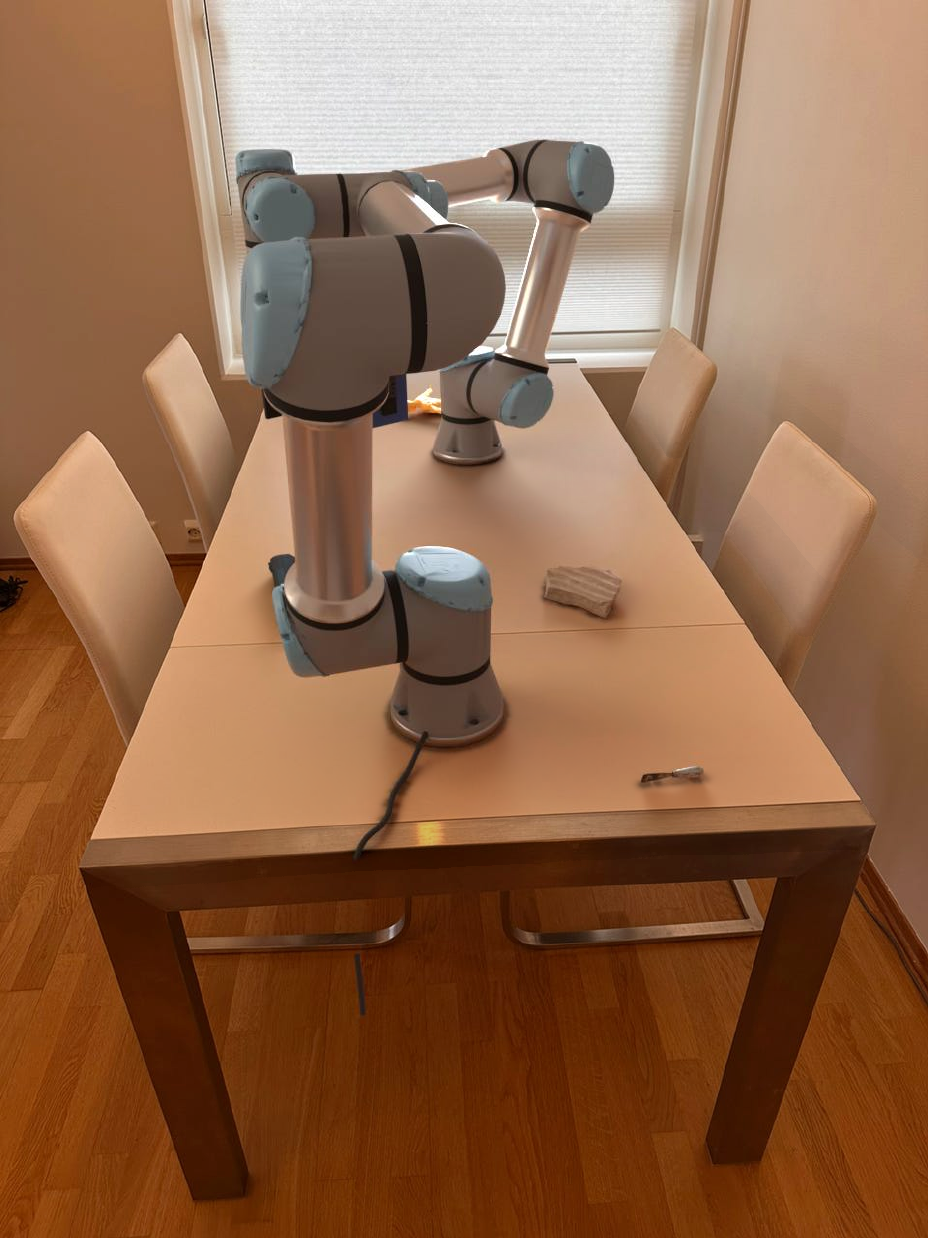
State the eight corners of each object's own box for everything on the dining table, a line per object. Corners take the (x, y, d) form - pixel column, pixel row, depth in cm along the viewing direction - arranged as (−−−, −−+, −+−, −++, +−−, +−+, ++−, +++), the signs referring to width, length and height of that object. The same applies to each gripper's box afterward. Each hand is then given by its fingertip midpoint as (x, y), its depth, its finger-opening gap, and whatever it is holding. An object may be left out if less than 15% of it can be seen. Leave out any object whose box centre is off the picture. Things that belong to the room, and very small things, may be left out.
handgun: (352, 612, 143) (277, 623, 140) (336, 561, 157) (267, 570, 155) (351, 595, 141) (274, 606, 139) (334, 545, 156) (265, 554, 153)
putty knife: (703, 777, 109) (705, 767, 109) (642, 788, 108) (644, 777, 107) (700, 772, 110) (702, 762, 109) (639, 782, 109) (640, 771, 108)
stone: (626, 584, 150) (627, 571, 148) (608, 619, 140) (609, 605, 139) (553, 571, 154) (553, 558, 153) (530, 604, 145) (530, 590, 143)
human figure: (395, 413, 223) (394, 398, 221) (438, 390, 237) (438, 375, 235) (462, 429, 215) (462, 413, 213) (502, 404, 229) (503, 388, 227)
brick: (388, 408, 168) (384, 350, 162) (408, 419, 163) (405, 359, 157) (348, 417, 164) (343, 358, 158) (368, 429, 159) (364, 368, 153)
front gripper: (215, 267, 127) (236, 411, 138) (294, 298, 110) (311, 460, 121) (263, 261, 131) (280, 402, 142) (348, 290, 114) (359, 448, 125)
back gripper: (322, 268, 155) (334, 396, 168) (380, 289, 141) (388, 427, 153) (360, 263, 159) (369, 389, 171) (420, 283, 145) (425, 419, 157)
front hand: (294, 429), depth 132 cm, fingers open, 13 cm apart
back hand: (378, 407), depth 162 cm, fingers closed on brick, 7 cm apart
